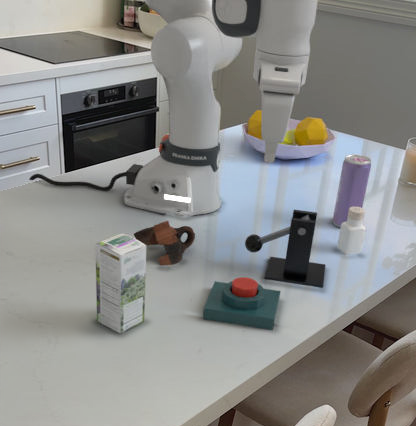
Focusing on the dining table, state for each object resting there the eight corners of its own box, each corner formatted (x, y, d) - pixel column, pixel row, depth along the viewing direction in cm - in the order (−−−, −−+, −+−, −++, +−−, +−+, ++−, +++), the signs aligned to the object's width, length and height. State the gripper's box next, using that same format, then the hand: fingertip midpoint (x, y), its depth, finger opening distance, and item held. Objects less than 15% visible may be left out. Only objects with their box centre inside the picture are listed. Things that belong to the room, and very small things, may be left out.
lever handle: (248, 257, 127) (240, 242, 126) (250, 250, 130) (243, 235, 128) (312, 234, 122) (306, 217, 121) (314, 227, 125) (307, 210, 123)
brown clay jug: (149, 275, 127) (133, 233, 125) (140, 274, 136) (125, 235, 134) (206, 253, 129) (192, 211, 127) (194, 253, 138) (180, 215, 136)
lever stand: (264, 282, 126) (272, 221, 119) (269, 261, 134) (277, 203, 126) (322, 291, 125) (333, 229, 118) (324, 269, 132) (335, 210, 125)
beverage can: (358, 231, 149) (372, 164, 140) (331, 227, 150) (343, 161, 141) (358, 221, 154) (372, 156, 145) (332, 217, 154) (344, 152, 146)
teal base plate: (203, 319, 114) (204, 298, 112) (213, 291, 122) (215, 272, 120) (272, 330, 113) (275, 309, 110) (278, 301, 121) (281, 282, 118)
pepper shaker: (335, 249, 140) (343, 206, 135) (351, 247, 142) (360, 204, 136) (344, 257, 137) (353, 214, 132) (361, 255, 139) (371, 212, 133)
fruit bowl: (284, 133, 207) (289, 94, 200) (351, 158, 190) (359, 117, 184) (215, 146, 191) (218, 105, 185) (281, 175, 175) (287, 131, 169)
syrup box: (121, 309, 115) (120, 231, 106) (145, 322, 112) (147, 242, 104) (96, 321, 111) (93, 241, 103) (121, 335, 108) (120, 254, 100)
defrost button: (229, 296, 114) (230, 287, 113) (233, 284, 117) (234, 275, 116) (255, 300, 113) (256, 291, 112) (258, 288, 117) (259, 279, 116)
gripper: (262, 54, 119) (253, 133, 127) (260, 81, 103) (249, 169, 111) (298, 58, 119) (286, 136, 127) (300, 85, 102) (287, 173, 111)
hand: (269, 152), depth 119 cm, fingers open, 8 cm apart
